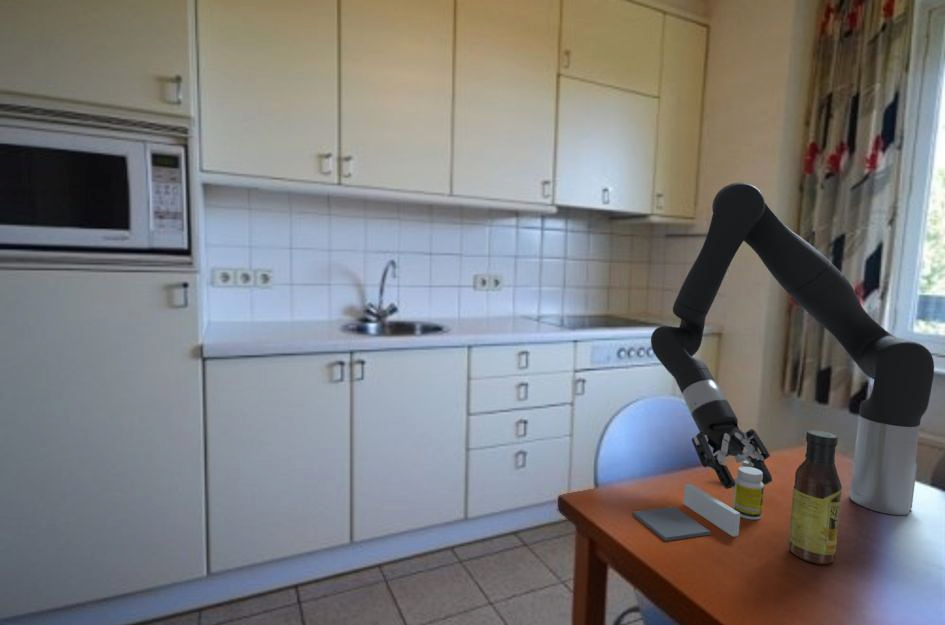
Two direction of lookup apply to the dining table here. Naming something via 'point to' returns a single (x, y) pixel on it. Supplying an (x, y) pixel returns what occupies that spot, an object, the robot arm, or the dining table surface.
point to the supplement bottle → (748, 493)
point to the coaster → (671, 523)
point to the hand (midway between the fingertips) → (749, 485)
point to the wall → (712, 509)
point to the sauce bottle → (816, 501)
